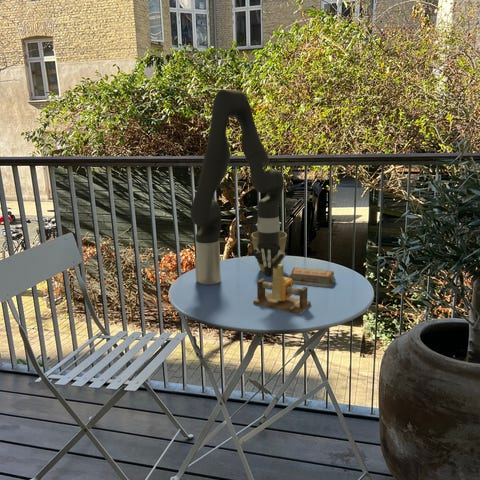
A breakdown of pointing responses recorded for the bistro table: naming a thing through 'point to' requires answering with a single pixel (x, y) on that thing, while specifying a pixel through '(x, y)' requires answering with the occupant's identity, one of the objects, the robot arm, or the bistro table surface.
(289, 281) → the orange upright board
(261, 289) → the pipe board
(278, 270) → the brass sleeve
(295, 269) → the packaged product
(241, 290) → the bistro table surface
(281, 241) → the plant pot
